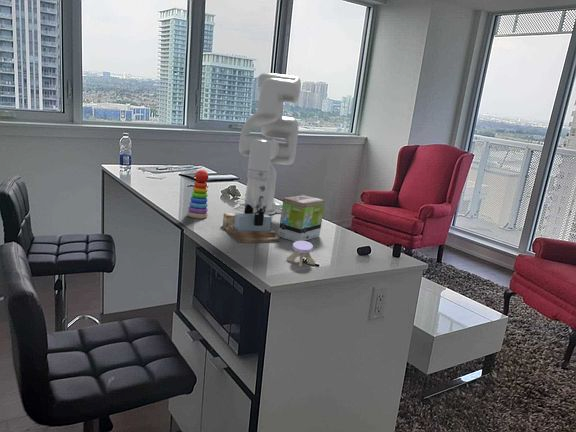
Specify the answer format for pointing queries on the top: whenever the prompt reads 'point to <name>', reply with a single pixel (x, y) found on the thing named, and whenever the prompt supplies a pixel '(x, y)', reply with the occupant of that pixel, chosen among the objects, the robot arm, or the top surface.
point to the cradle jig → (252, 235)
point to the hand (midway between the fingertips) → (253, 221)
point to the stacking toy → (199, 196)
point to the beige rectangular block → (229, 219)
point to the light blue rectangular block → (251, 223)
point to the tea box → (301, 218)
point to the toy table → (302, 252)
